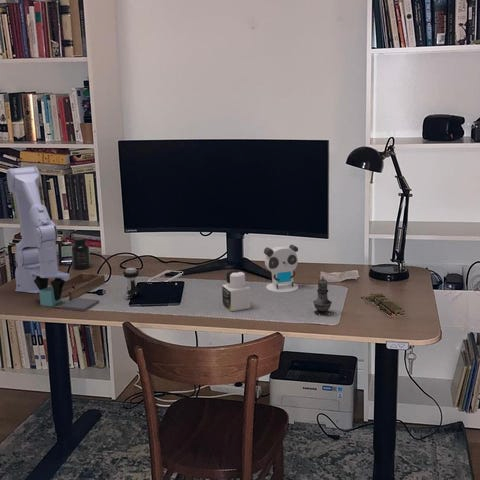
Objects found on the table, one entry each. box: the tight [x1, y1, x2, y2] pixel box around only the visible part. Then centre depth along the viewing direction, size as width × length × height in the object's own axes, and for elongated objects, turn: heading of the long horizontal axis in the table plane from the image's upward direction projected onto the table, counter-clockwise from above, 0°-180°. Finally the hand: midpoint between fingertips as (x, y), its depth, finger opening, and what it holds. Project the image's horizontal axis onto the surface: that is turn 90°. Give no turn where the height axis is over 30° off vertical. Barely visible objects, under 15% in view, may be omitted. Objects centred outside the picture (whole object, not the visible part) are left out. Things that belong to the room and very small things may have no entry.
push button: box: [122, 267, 140, 300], centre depth 227 cm, size 7×5×10 cm
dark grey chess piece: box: [313, 276, 333, 316], centre depth 209 cm, size 6×6×12 cm
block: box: [39, 285, 63, 307], centre depth 223 cm, size 4×6×5 cm
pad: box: [60, 297, 100, 312], centre depth 221 cm, size 9×9×1 cm
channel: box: [51, 272, 106, 301], centre depth 238 cm, size 10×21×3 cm, turn 159°
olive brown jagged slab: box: [360, 292, 406, 316], centre depth 215 cm, size 22×9×2 cm, turn 12°
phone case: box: [147, 269, 184, 283], centre depth 250 cm, size 7×1×15 cm
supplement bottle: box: [71, 236, 91, 271], centre depth 265 cm, size 7×7×12 cm
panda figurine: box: [263, 244, 299, 294], centre depth 235 cm, size 12×11×15 cm
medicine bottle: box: [221, 269, 251, 312], centre depth 216 cm, size 7×7×12 cm
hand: (51, 298), depth 224 cm, fingers closed on block, 4 cm apart
